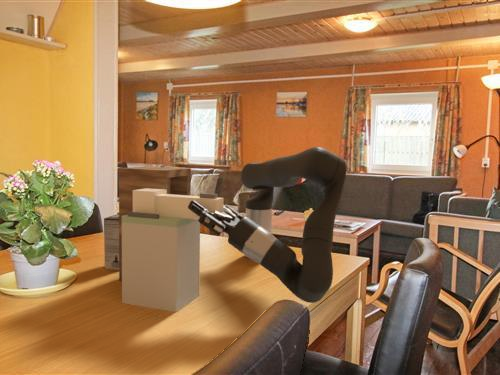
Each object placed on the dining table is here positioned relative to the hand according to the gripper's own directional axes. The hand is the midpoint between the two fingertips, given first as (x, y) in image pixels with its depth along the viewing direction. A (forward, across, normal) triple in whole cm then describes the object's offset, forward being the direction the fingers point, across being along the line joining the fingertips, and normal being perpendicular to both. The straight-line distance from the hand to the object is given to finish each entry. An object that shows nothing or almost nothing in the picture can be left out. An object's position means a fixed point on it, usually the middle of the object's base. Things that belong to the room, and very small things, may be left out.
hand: (198, 201), depth 103 cm
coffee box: (+20, -21, +41) cm, 50 cm away
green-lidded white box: (-4, 0, +27) cm, 27 cm away
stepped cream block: (+3, 0, +6) cm, 7 cm away
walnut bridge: (+5, -15, +32) cm, 36 cm away
